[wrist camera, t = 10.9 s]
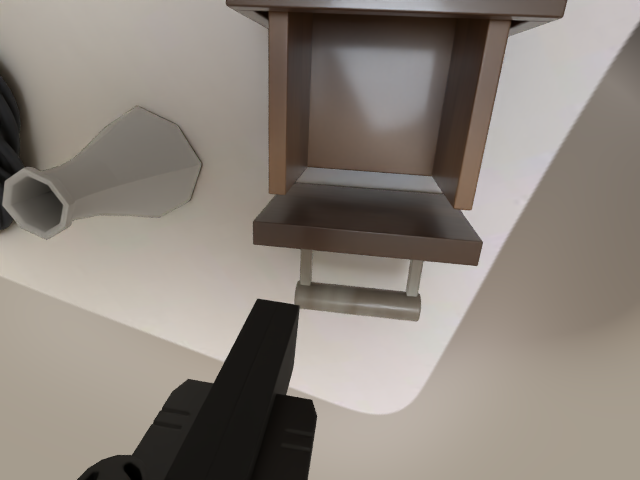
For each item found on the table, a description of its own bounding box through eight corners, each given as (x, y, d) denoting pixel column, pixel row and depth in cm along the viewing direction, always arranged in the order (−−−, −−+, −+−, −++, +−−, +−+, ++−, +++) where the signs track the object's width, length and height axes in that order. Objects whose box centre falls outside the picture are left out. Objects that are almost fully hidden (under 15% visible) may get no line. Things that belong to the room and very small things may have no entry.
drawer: (433, 282, 26) (457, 356, 19) (285, 267, 27) (254, 331, 20) (489, -19, 20) (557, -77, 13) (290, -24, 21) (247, -81, 14)
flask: (135, 84, 25) (-5, 84, 16) (221, 163, 26) (139, 205, 17) (83, 164, 27) (-63, 205, 18) (164, 232, 29) (66, 303, 19)
